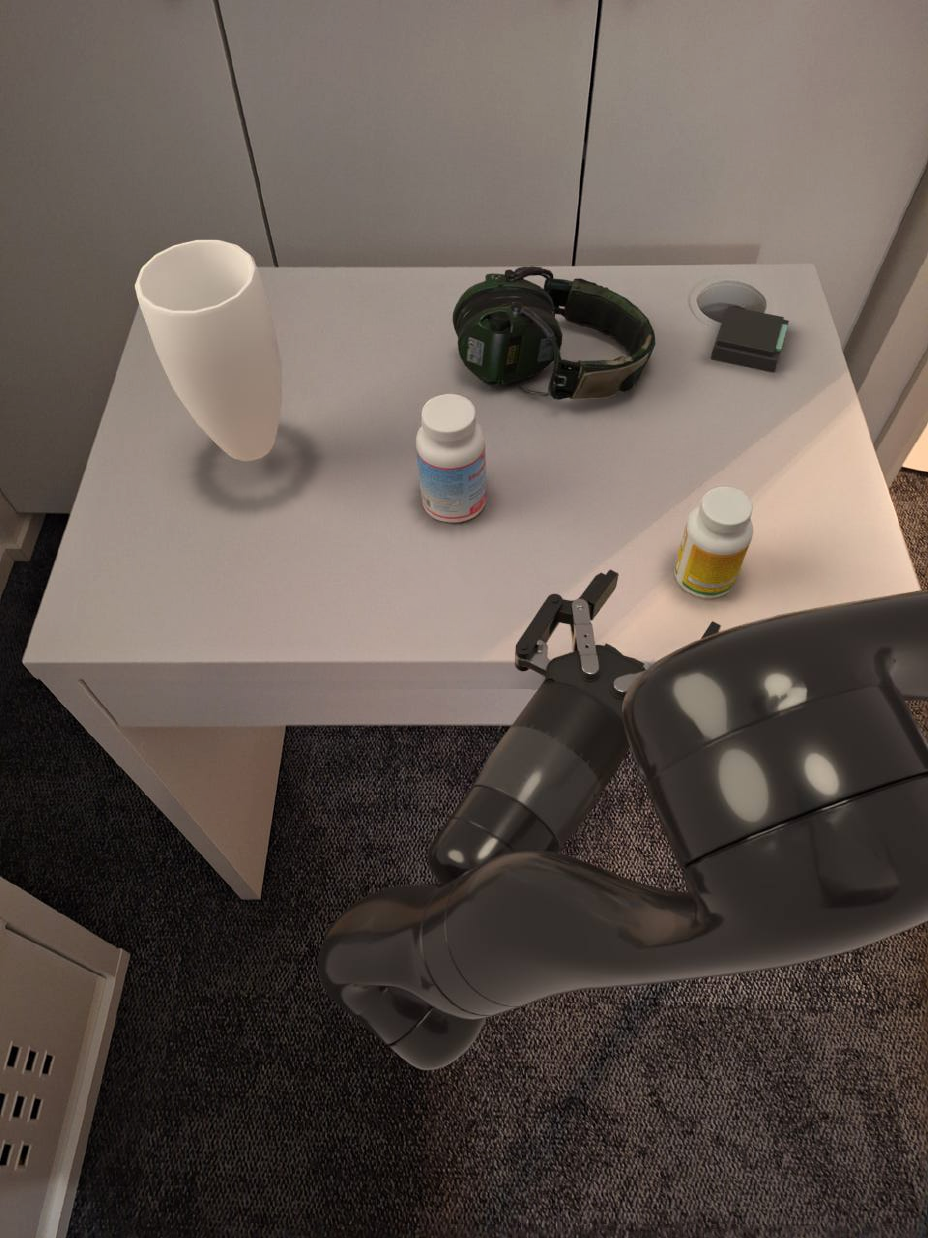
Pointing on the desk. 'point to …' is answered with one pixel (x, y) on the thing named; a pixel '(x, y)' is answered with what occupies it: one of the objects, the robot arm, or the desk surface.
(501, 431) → the desk surface
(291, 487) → the desk surface
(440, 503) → the pill bottle
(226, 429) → the cup
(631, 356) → the headphones
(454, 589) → the desk surface
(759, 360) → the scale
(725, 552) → the supplement bottle
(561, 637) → the desk surface
